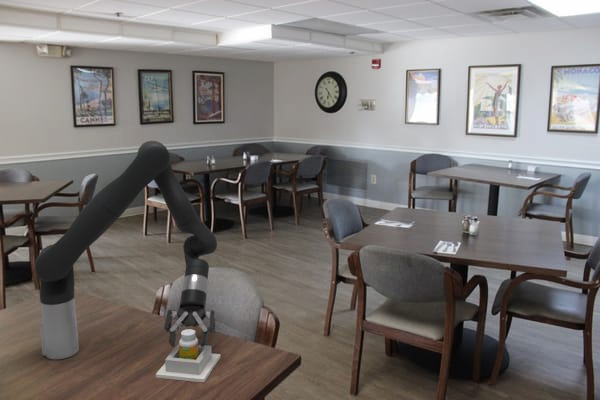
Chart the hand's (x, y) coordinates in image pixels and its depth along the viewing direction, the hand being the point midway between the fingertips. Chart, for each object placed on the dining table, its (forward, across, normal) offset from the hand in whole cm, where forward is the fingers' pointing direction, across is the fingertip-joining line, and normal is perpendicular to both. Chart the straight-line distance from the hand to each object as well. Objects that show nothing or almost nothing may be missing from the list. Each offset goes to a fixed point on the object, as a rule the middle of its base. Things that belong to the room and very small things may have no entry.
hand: (187, 346), depth 144 cm
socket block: (+4, 0, +6) cm, 7 cm away
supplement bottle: (+3, 0, +6) cm, 7 cm away
